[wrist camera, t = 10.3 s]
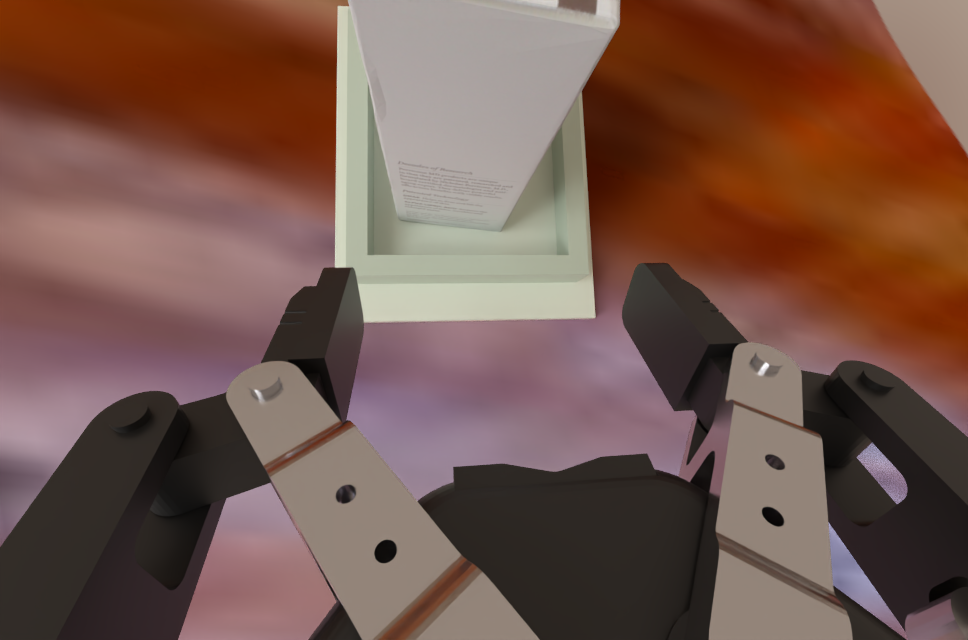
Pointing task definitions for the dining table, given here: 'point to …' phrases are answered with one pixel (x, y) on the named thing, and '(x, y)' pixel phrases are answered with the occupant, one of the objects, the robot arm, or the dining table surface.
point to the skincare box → (474, 95)
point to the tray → (458, 228)
